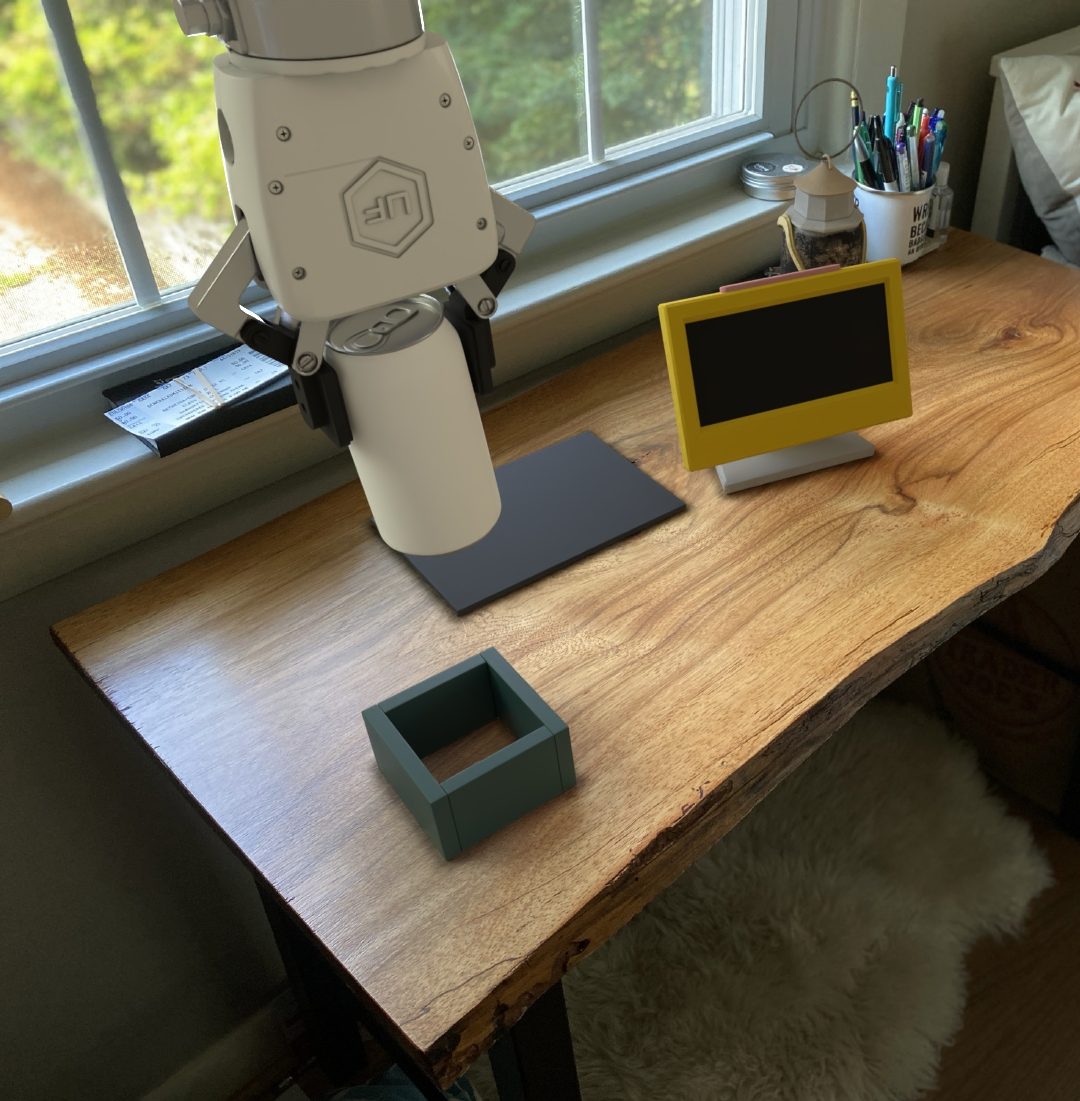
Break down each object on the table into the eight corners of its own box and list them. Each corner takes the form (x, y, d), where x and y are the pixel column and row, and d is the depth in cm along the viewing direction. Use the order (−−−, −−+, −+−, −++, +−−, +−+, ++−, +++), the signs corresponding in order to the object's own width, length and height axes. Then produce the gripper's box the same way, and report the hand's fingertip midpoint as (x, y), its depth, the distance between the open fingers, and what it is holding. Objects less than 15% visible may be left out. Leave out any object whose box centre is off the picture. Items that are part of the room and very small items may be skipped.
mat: (458, 617, 77) (457, 611, 77) (371, 523, 86) (370, 518, 85) (686, 509, 87) (686, 503, 87) (588, 434, 95) (587, 430, 95)
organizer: (446, 862, 61) (430, 804, 58) (378, 768, 66) (360, 711, 63) (577, 784, 65) (569, 726, 62) (503, 702, 71) (493, 645, 67)
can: (355, 545, 57) (279, 345, 50) (426, 473, 62) (367, 278, 54) (459, 573, 55) (398, 368, 47) (526, 497, 60) (480, 297, 52)
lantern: (836, 321, 112) (852, 60, 96) (877, 356, 106) (901, 84, 91) (759, 339, 109) (763, 72, 94) (797, 375, 103) (808, 98, 88)
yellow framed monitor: (691, 508, 87) (685, 326, 77) (655, 458, 93) (645, 282, 83) (909, 450, 93) (929, 275, 84) (864, 406, 99) (877, 237, 89)
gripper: (111, 70, 36) (257, 510, 47) (564, -5, 45) (598, 383, 56) (55, 26, 41) (200, 437, 52) (475, -34, 49) (522, 330, 60)
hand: (405, 406), depth 54 cm, fingers closed on can, 6 cm apart
